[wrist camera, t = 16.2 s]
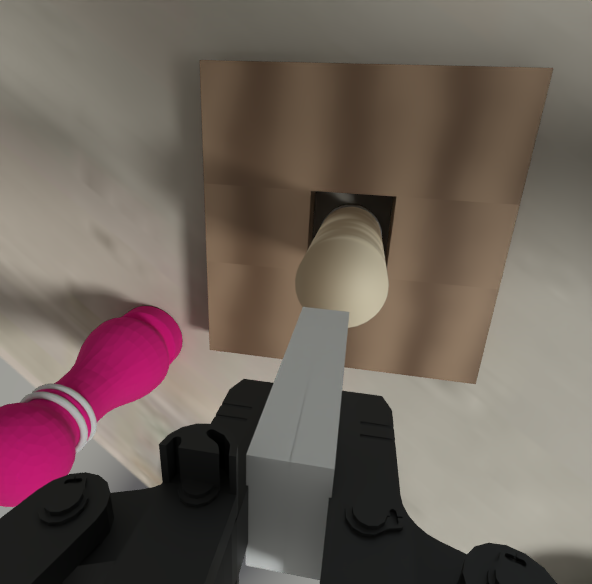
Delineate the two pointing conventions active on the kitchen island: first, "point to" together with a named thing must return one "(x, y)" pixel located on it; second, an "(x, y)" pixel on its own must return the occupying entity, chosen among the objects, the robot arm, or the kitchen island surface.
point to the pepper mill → (83, 399)
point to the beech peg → (345, 266)
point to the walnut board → (372, 181)
